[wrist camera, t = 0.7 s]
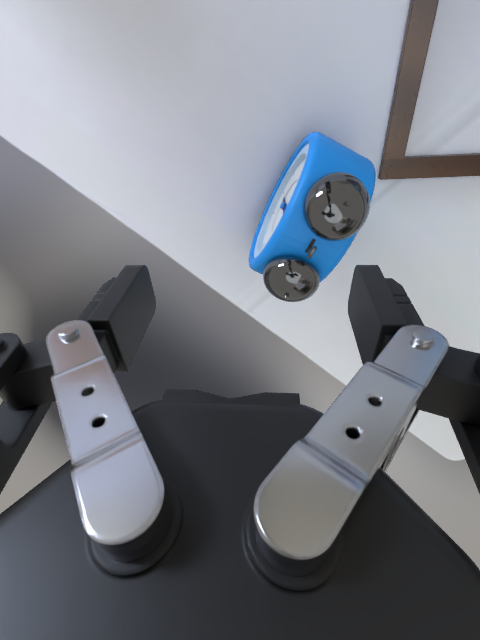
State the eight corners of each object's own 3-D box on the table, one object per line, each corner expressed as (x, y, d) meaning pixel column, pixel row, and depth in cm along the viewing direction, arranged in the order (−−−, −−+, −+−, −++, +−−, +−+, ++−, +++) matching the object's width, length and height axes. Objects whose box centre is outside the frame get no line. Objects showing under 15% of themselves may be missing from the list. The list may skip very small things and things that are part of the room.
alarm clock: (307, 119, 32) (326, 150, 21) (360, 149, 34) (408, 194, 22) (250, 234, 40) (240, 304, 28) (295, 254, 41) (304, 331, 29)
